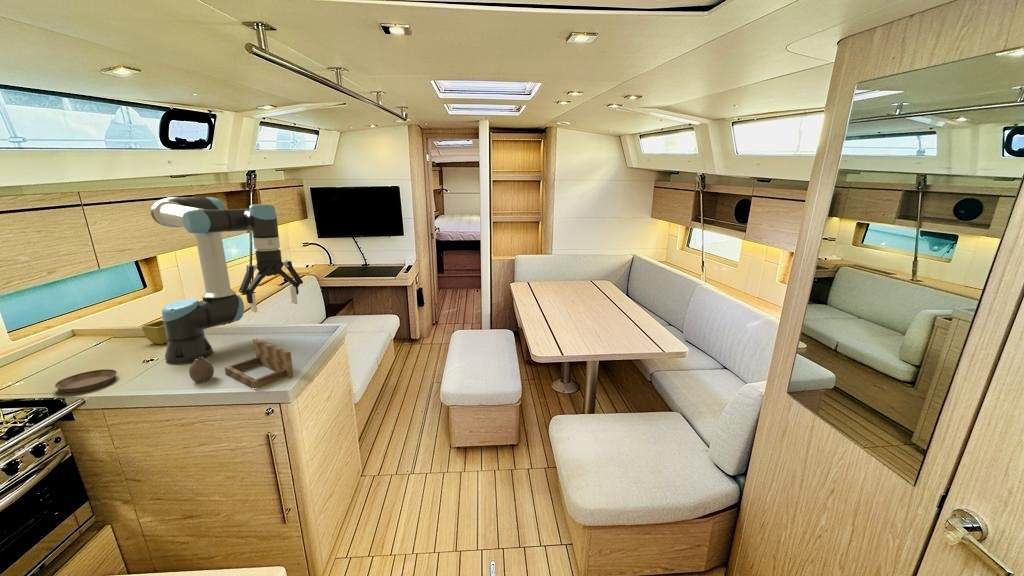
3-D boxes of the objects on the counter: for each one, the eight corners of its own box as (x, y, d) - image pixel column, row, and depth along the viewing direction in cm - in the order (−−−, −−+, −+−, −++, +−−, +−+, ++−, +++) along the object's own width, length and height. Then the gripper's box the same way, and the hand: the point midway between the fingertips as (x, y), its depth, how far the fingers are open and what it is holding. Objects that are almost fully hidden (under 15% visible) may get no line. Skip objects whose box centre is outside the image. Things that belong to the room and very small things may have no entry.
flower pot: (144, 345, 168) (140, 325, 166) (165, 337, 176) (161, 319, 174) (161, 346, 167) (157, 327, 165) (181, 339, 175) (177, 321, 173)
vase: (201, 385, 135) (197, 363, 133) (186, 383, 136) (181, 361, 134) (220, 377, 142) (216, 355, 139) (204, 374, 143) (200, 353, 141)
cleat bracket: (223, 373, 144) (219, 349, 142) (260, 361, 155) (256, 338, 153) (256, 390, 132) (252, 364, 130) (293, 376, 143) (290, 351, 141)
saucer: (115, 371, 144) (114, 365, 144) (121, 384, 135) (119, 377, 134) (56, 385, 133) (54, 378, 132) (57, 400, 124) (55, 393, 123)
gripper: (230, 254, 121) (240, 317, 126) (309, 247, 140) (314, 301, 146) (221, 251, 125) (231, 313, 130) (298, 244, 145) (304, 298, 150)
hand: (275, 307), depth 138 cm, fingers open, 13 cm apart
